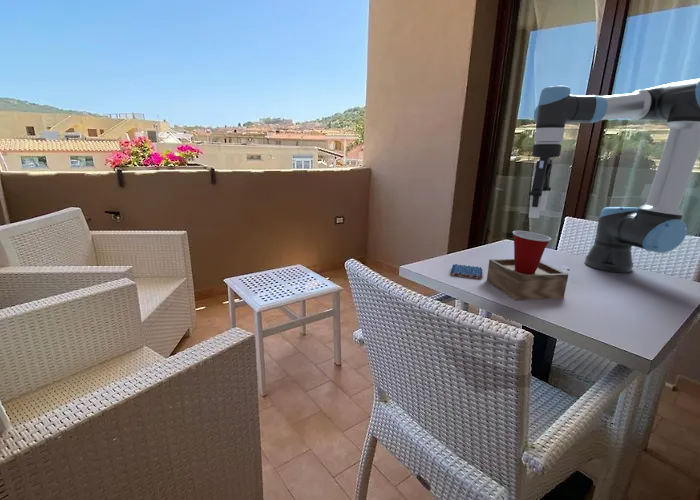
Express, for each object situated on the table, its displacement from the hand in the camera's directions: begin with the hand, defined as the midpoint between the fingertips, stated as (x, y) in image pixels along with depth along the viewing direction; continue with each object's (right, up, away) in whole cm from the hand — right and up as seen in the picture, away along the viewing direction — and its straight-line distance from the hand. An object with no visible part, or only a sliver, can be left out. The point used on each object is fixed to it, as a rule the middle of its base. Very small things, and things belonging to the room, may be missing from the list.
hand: (537, 214), depth 114 cm
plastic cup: (-4, -18, 0) cm, 18 cm away
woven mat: (-17, -20, +15) cm, 30 cm away
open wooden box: (-4, -24, +1) cm, 24 cm away
